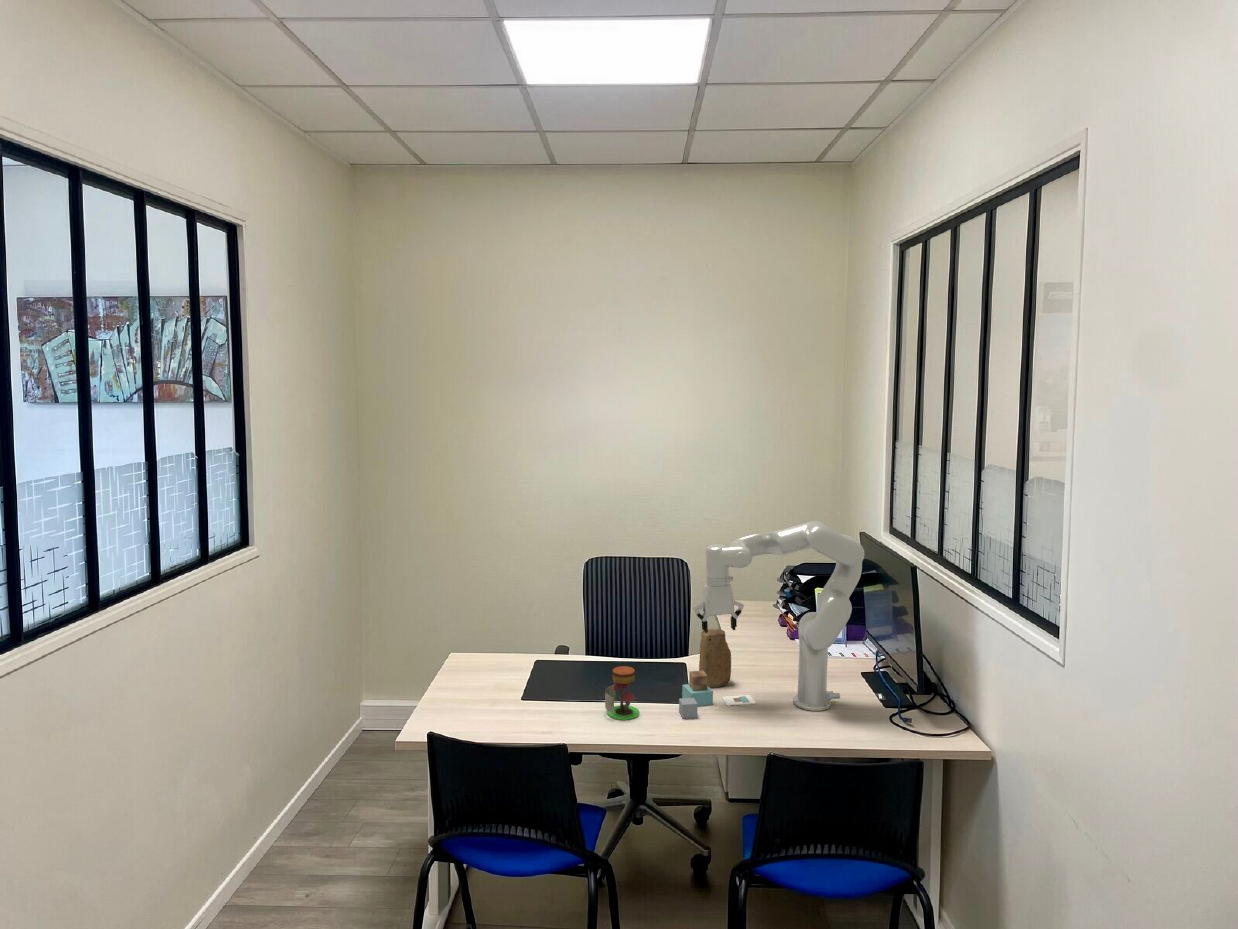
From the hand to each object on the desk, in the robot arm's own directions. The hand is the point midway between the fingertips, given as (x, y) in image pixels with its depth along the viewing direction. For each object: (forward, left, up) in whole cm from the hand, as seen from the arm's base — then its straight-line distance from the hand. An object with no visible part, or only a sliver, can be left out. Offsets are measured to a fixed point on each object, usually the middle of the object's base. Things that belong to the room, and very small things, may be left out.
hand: (719, 630), depth 281 cm
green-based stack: (+34, +4, -26) cm, 43 cm away
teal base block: (+7, -2, -26) cm, 27 cm away
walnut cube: (+6, -2, -21) cm, 22 cm away
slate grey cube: (+13, +9, -26) cm, 30 cm away
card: (-7, 0, -25) cm, 26 cm away
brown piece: (-3, -16, -26) cm, 30 cm away
